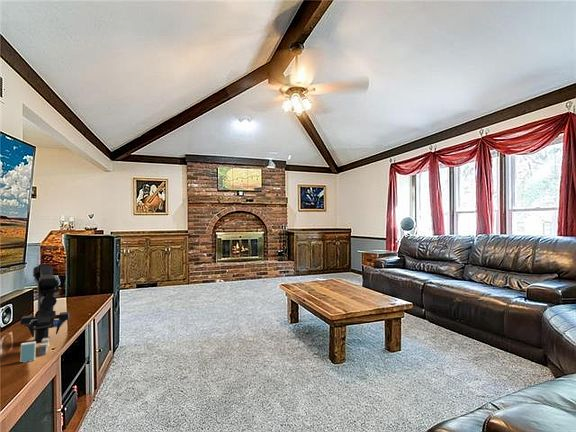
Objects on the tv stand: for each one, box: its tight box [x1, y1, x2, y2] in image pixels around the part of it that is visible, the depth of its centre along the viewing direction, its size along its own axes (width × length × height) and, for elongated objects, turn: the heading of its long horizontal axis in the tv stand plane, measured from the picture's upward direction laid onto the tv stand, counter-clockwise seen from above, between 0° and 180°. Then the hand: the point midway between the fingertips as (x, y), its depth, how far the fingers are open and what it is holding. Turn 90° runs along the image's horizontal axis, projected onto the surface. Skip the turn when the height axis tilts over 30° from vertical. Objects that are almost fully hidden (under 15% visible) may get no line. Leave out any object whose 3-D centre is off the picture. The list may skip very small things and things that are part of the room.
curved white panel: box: [37, 338, 50, 357], centre depth 155 cm, size 14×3×4 cm, turn 31°
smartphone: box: [52, 319, 67, 328], centre depth 196 cm, size 7×1×15 cm
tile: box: [19, 341, 37, 363], centre depth 144 cm, size 2×5×8 cm, turn 121°
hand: (45, 335), depth 157 cm, fingers open, 9 cm apart
